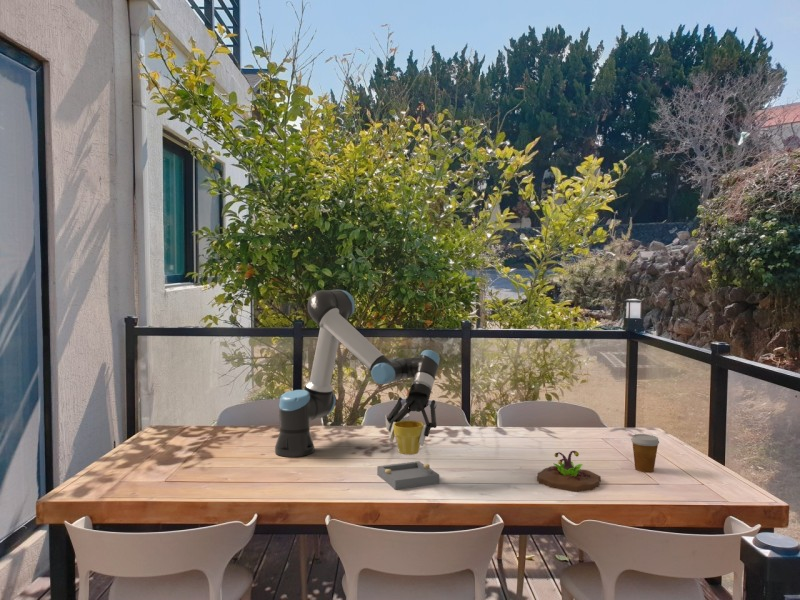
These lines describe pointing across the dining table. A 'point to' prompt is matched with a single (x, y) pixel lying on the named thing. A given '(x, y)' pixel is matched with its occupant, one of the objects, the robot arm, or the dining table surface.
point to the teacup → (405, 418)
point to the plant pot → (408, 436)
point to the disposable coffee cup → (644, 451)
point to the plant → (568, 476)
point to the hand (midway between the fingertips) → (405, 442)
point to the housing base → (408, 475)
